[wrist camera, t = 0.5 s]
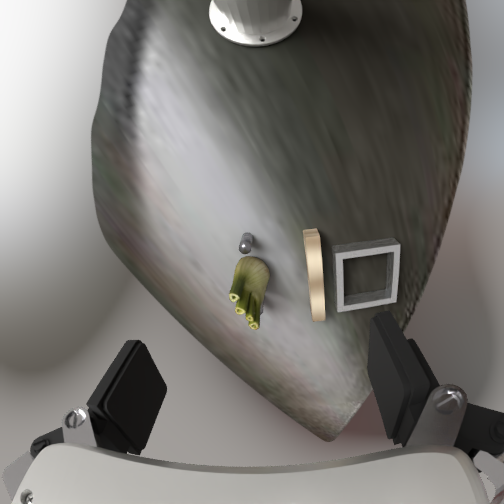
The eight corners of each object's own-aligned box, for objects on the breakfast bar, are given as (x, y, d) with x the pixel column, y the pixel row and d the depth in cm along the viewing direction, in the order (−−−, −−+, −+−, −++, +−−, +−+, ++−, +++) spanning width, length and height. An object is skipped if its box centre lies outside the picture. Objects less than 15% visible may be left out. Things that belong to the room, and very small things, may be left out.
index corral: (331, 245, 40) (335, 253, 38) (393, 237, 39) (400, 244, 36) (334, 302, 44) (337, 312, 41) (390, 293, 43) (396, 302, 40)
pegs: (241, 233, 40) (237, 243, 37) (252, 231, 40) (249, 242, 37) (254, 301, 45) (253, 315, 41) (264, 300, 45) (263, 314, 41)
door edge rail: (302, 230, 40) (305, 237, 37) (316, 228, 39) (319, 235, 37) (310, 310, 45) (312, 321, 42) (322, 309, 45) (325, 319, 42)
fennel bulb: (235, 251, 42) (222, 294, 31) (269, 250, 41) (267, 293, 30) (239, 285, 44) (228, 334, 33) (270, 284, 43) (269, 334, 32)
